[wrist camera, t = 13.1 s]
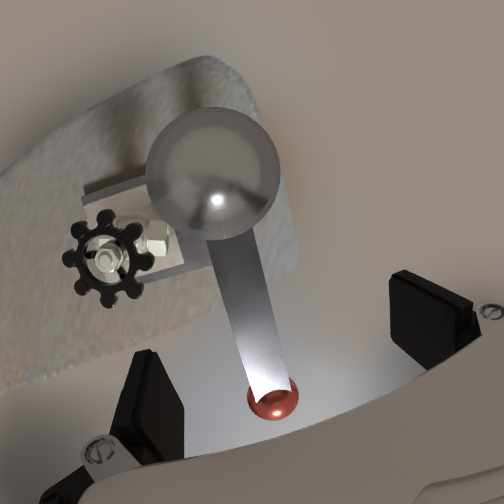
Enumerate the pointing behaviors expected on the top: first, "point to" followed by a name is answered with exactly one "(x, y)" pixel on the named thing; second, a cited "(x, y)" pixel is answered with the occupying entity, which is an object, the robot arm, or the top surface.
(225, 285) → the lever
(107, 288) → the valve
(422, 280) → the robot arm
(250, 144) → the press
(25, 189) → the top surface
